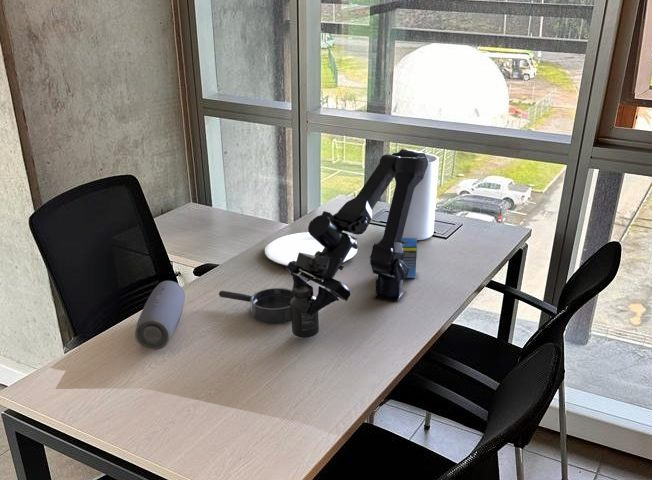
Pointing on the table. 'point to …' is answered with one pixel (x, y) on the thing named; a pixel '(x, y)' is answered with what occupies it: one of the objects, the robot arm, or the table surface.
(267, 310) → the pan
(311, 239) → the plate
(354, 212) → the robot arm
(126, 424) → the table surface
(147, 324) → the bluetooth speaker
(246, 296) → the pan handle
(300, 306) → the supplement bottle
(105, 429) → the table surface
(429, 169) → the cylinder vase
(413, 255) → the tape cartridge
